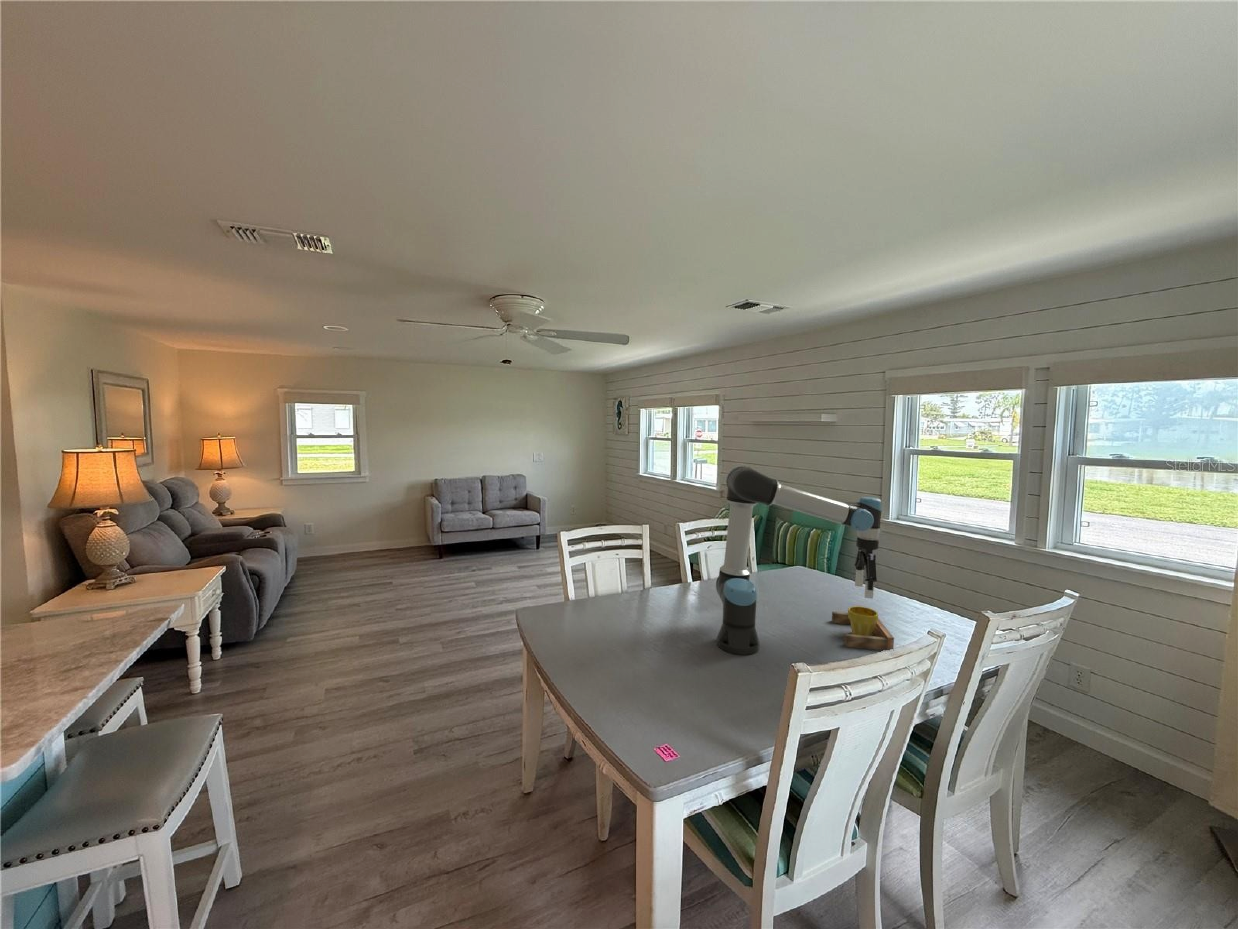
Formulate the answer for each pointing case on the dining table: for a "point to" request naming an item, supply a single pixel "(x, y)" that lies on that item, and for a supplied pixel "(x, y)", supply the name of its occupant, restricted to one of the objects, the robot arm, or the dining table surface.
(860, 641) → the docking bay
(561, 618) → the dining table surface
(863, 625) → the plant pot
